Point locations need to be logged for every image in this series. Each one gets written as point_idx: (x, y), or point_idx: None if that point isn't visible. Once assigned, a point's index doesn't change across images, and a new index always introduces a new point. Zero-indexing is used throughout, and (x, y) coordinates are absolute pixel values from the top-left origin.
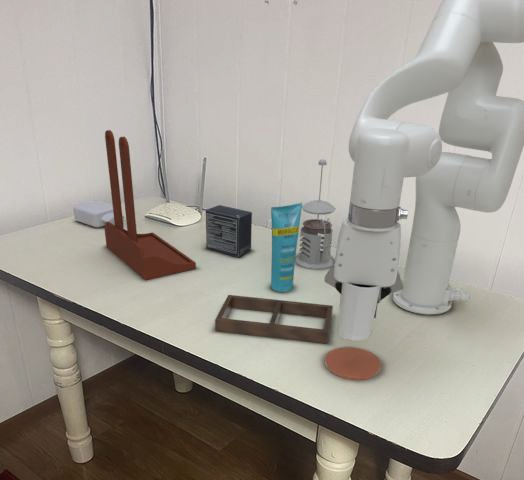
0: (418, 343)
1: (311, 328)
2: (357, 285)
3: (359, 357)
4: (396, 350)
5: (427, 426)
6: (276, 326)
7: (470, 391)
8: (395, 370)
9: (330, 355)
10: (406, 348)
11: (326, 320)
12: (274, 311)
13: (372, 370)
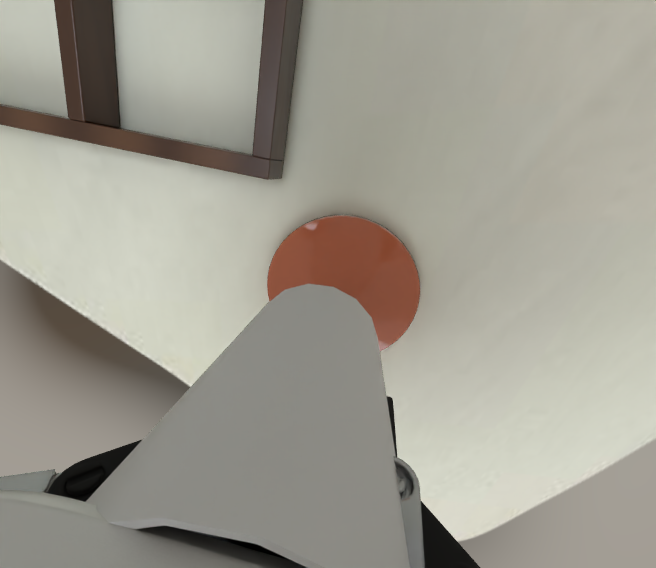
0: (612, 161)
1: (209, 151)
2: (222, 538)
3: (362, 275)
4: (501, 214)
5: (446, 489)
6: (95, 142)
7: (617, 411)
8: (453, 320)
9: (281, 264)
10: (544, 199)
11: (262, 75)
12: (56, 2)
13: (384, 334)
